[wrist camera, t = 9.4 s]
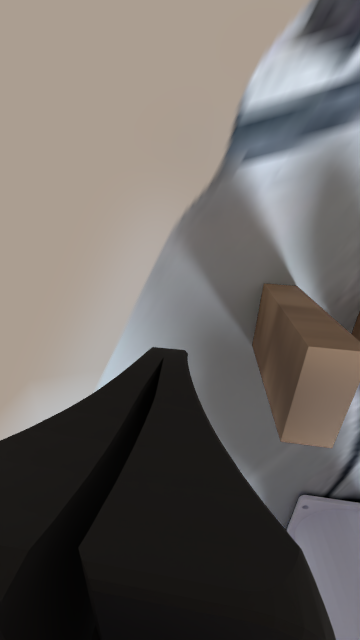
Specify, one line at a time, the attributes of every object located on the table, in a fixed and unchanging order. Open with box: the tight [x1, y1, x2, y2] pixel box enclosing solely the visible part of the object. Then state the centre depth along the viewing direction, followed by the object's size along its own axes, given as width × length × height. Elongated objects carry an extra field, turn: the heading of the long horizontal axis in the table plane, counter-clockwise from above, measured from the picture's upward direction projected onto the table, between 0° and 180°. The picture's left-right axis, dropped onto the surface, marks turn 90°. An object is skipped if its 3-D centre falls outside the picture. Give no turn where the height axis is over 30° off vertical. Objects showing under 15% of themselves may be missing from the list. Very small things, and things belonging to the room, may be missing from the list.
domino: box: [252, 283, 360, 448], centre depth 11 cm, size 4×2×7 cm, turn 178°
